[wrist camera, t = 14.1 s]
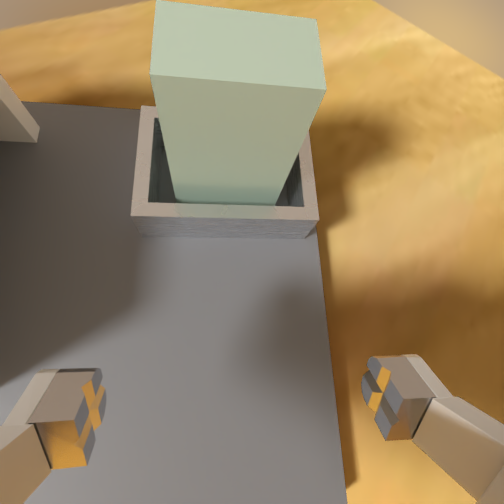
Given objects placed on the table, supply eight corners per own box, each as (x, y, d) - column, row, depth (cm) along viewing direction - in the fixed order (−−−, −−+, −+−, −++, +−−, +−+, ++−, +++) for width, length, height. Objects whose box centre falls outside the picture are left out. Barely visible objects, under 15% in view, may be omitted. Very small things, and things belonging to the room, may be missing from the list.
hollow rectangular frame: (294, 147, 22) (307, 117, 19) (303, 239, 20) (319, 220, 17) (150, 139, 21) (141, 105, 18) (142, 237, 18) (130, 215, 16)
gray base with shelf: (299, 131, 24) (351, 7, 15) (338, 495, 17) (481, 651, 8) (-42, 109, 21) (-221, -66, 12) (-189, 554, 13) (-952, 940, 4)
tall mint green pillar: (267, 155, 21) (313, 1, 12) (271, 213, 20) (326, 89, 11) (180, 150, 21) (157, -19, 11) (178, 211, 19) (149, 74, 10)
